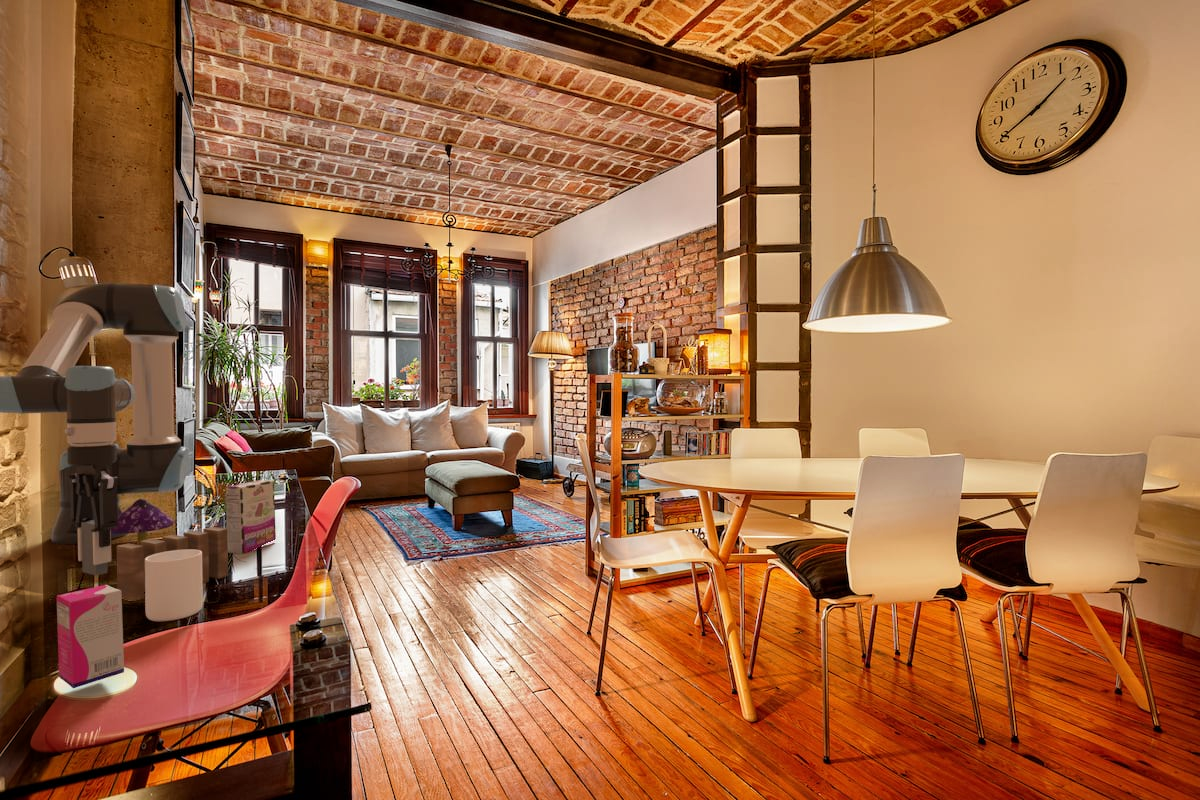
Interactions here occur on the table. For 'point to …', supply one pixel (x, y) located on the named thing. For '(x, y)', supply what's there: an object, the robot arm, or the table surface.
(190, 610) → the white oval pot
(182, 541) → the walnut domino
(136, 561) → the walnut domino
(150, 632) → the table surface
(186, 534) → the walnut domino
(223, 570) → the walnut domino
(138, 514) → the decorative mushroom
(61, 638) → the supplement box
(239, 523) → the candy bar box
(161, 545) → the walnut domino
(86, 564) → the charcoal domino
